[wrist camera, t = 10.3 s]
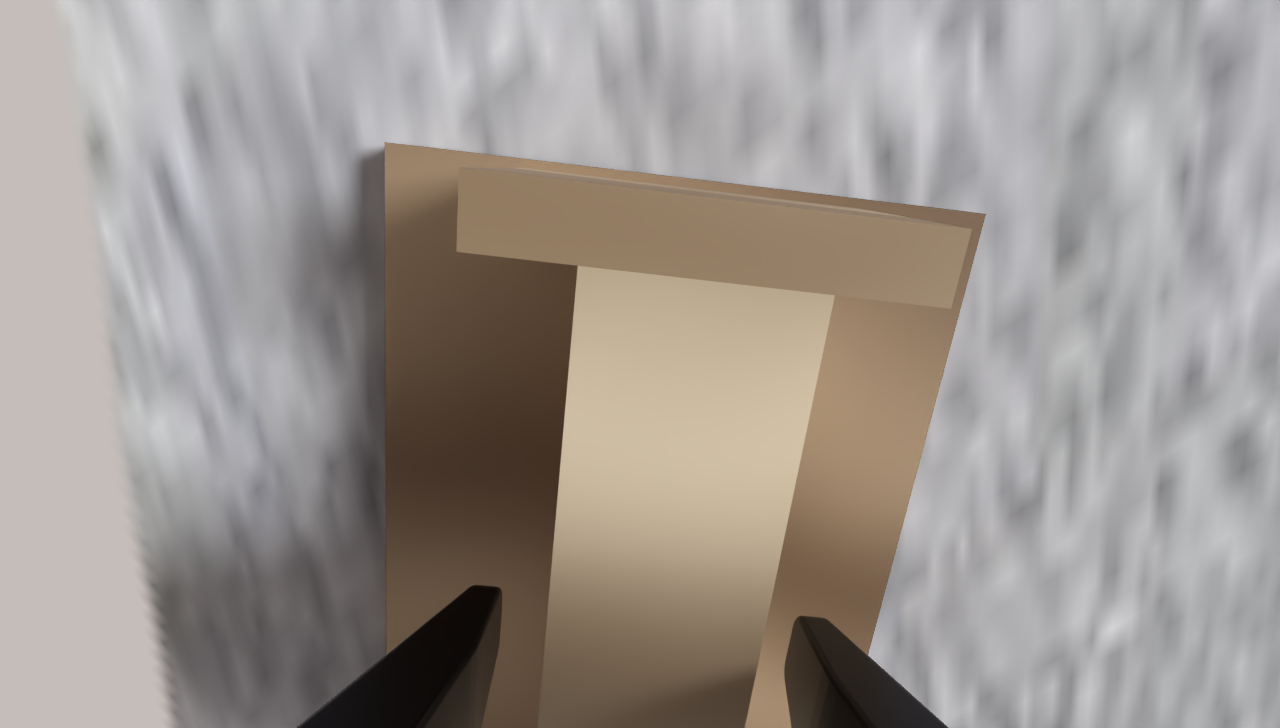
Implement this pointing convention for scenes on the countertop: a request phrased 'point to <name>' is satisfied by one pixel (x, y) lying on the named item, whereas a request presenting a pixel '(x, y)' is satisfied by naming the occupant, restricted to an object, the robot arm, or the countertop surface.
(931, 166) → the countertop surface
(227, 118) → the countertop surface
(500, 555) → the trivet
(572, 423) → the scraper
